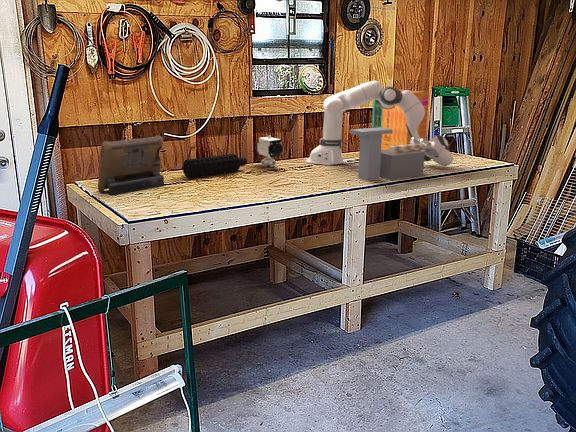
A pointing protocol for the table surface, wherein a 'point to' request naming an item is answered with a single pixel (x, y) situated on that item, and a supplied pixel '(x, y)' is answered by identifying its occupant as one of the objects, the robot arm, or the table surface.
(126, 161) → the tablet
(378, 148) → the stand
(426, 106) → the orange green grid box
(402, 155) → the block
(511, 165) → the table surface
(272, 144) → the white security camera
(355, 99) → the robot arm
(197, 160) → the roller
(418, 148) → the bar
